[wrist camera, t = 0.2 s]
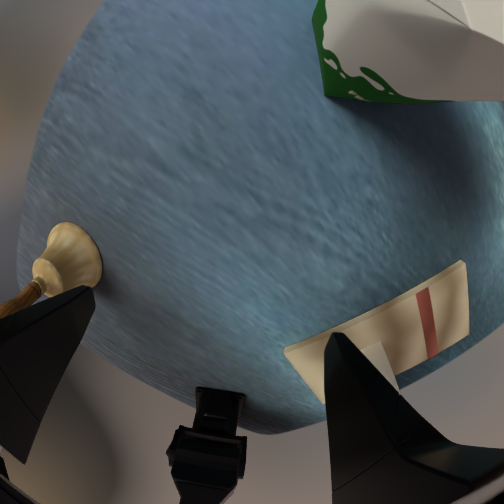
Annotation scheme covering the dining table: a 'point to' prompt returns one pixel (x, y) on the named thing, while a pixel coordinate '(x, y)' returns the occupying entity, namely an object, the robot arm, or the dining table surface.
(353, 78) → the milk carton
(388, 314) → the board
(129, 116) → the dining table surface
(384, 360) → the white slab
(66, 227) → the hand bell
